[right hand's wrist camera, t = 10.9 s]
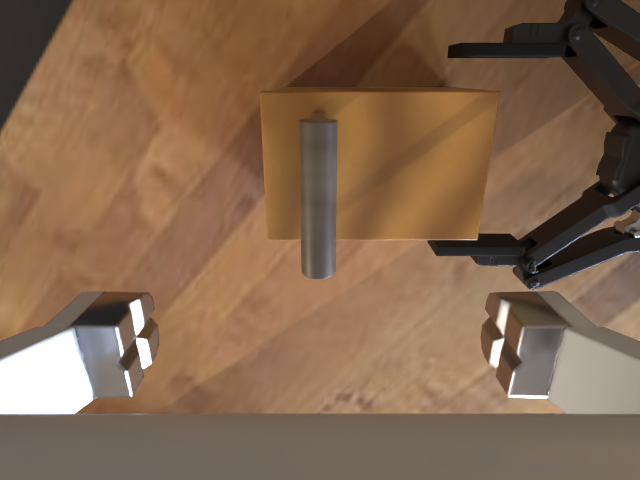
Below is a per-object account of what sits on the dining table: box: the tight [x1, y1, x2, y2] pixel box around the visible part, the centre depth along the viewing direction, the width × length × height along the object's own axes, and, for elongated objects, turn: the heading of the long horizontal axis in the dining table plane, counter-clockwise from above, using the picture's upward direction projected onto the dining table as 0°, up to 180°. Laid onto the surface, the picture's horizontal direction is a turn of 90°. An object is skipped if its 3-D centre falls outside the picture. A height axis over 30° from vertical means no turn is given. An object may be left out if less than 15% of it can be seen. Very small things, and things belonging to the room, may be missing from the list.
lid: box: [260, 91, 500, 279], centre depth 22 cm, size 14×9×8 cm, turn 90°
